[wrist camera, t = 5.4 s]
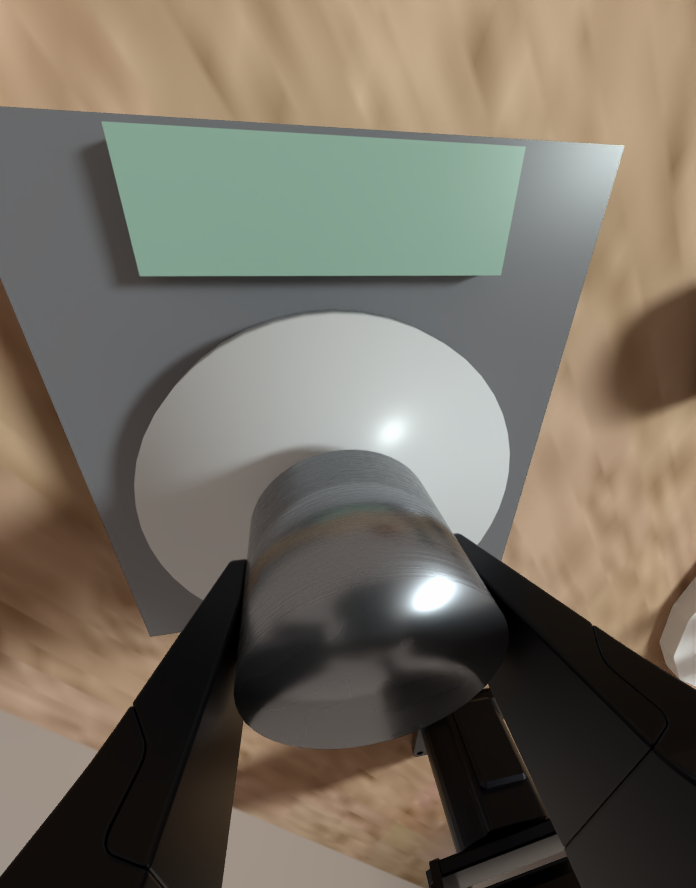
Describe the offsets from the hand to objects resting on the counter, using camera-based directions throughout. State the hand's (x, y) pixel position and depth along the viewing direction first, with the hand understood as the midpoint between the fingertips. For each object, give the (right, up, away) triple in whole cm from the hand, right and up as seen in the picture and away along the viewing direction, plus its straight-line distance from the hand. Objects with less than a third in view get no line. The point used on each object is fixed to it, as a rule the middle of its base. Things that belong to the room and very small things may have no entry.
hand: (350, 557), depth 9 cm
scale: (-1, +4, +4) cm, 5 cm away
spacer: (0, +1, +1) cm, 1 cm away
